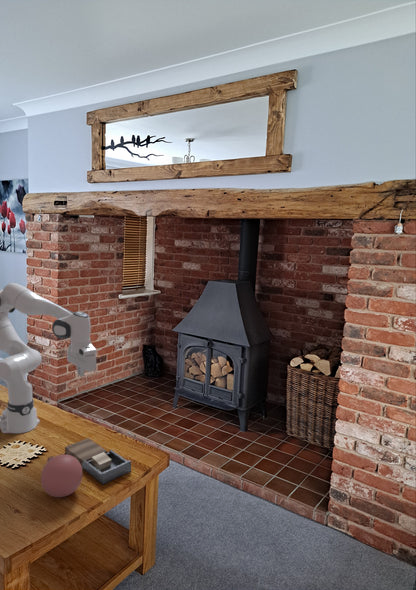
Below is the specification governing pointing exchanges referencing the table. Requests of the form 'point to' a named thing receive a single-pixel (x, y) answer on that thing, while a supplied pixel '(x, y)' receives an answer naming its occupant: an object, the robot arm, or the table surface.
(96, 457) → the block
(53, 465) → the balloon
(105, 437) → the table surface
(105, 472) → the box
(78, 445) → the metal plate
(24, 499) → the table surface
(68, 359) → the robot arm
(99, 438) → the table surface
